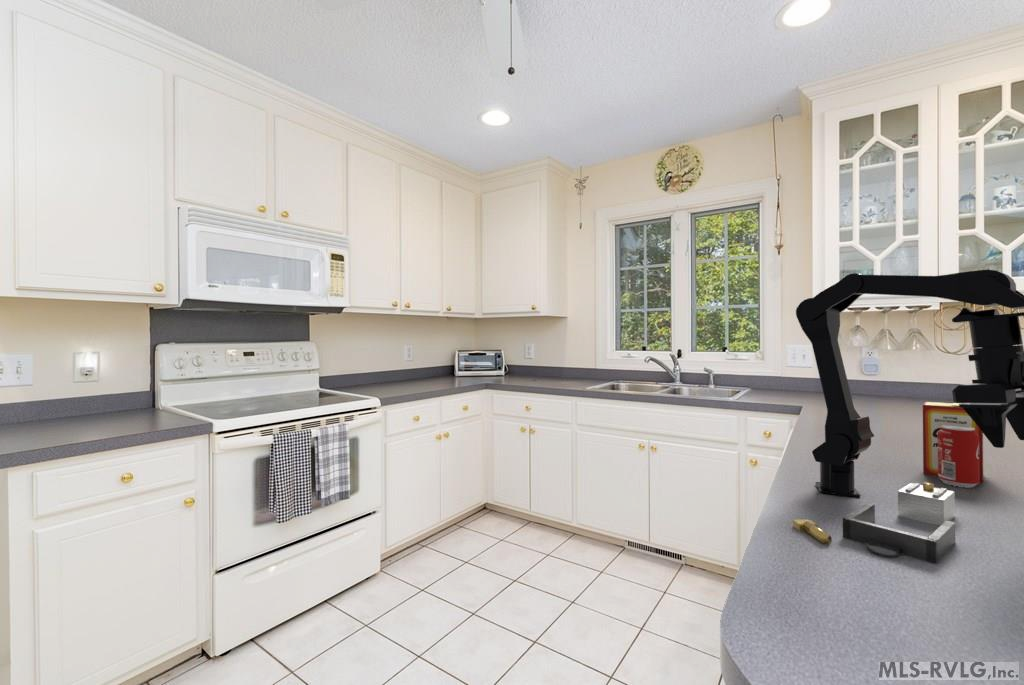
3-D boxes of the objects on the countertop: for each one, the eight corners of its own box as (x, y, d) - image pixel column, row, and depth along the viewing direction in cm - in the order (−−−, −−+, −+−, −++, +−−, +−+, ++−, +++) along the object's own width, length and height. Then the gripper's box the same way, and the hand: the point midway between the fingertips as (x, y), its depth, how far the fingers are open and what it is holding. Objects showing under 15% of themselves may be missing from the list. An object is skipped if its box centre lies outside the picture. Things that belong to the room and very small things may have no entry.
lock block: (910, 507, 86) (909, 477, 85) (954, 517, 81) (954, 485, 81) (898, 516, 81) (897, 485, 81) (944, 527, 77) (943, 494, 76)
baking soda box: (923, 473, 105) (922, 403, 105) (926, 468, 110) (925, 400, 110) (982, 482, 99) (982, 407, 98) (983, 476, 103) (982, 403, 103)
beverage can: (988, 488, 95) (988, 429, 94) (957, 489, 95) (956, 430, 95) (959, 479, 101) (959, 424, 101) (929, 479, 101) (929, 424, 101)
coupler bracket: (867, 520, 80) (867, 502, 80) (955, 542, 71) (955, 522, 71) (834, 542, 71) (834, 522, 71) (929, 570, 62) (929, 548, 62)
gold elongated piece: (793, 526, 77) (792, 517, 77) (810, 527, 77) (810, 517, 77) (816, 544, 71) (816, 534, 71) (836, 544, 71) (835, 534, 70)
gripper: (1045, 344, 65) (1064, 458, 63) (1095, 339, 73) (1112, 441, 71) (944, 350, 75) (958, 449, 73) (997, 346, 83) (1011, 435, 81)
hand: (1012, 443), depth 75 cm, fingers open, 9 cm apart
